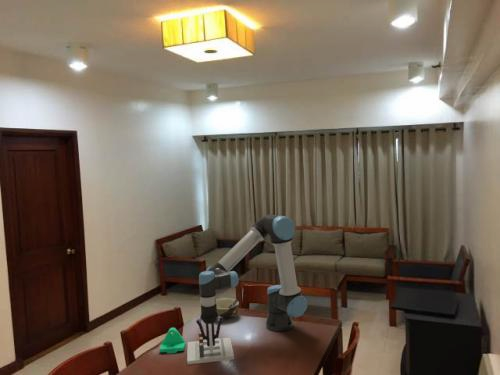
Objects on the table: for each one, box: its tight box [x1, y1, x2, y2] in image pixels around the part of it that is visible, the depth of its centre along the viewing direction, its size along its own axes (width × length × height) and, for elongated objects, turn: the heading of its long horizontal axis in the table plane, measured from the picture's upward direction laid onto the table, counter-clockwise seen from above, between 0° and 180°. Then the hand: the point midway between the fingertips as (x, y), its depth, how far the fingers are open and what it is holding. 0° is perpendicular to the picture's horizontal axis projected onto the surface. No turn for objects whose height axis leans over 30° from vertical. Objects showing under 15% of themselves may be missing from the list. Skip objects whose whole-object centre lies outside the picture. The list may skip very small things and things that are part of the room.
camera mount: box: [159, 327, 186, 355], centre depth 214 cm, size 12×8×10 cm, turn 93°
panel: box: [186, 337, 235, 366], centre depth 209 cm, size 22×22×2 cm
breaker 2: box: [199, 343, 204, 356], centre depth 202 cm, size 2×3×5 cm
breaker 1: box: [198, 336, 204, 347], centre depth 209 cm, size 2×3×5 cm
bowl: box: [216, 297, 240, 320], centre depth 255 cm, size 18×18×10 cm
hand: (211, 352), depth 203 cm, fingers closed
